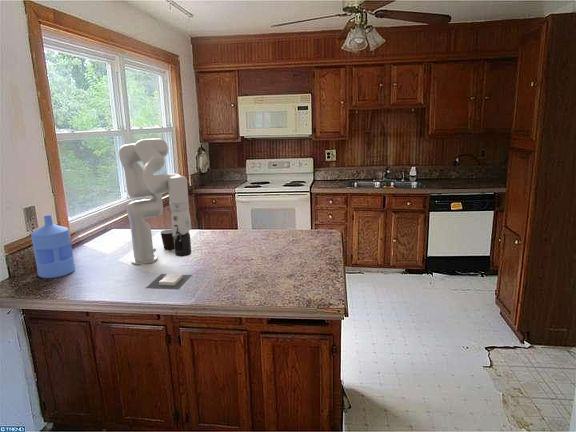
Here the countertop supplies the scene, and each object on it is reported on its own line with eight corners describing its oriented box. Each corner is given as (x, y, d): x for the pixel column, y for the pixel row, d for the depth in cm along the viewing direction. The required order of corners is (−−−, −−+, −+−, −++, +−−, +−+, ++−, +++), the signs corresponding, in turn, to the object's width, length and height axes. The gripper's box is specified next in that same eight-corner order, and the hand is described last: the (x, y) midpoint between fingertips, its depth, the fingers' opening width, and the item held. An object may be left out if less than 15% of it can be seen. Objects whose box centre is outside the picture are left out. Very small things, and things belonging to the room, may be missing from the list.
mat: (161, 275, 185) (161, 273, 184) (192, 276, 183) (192, 274, 183) (145, 289, 169) (145, 288, 169) (178, 290, 167) (178, 289, 167)
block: (167, 273, 180) (182, 274, 179) (168, 277, 180) (182, 277, 180) (159, 281, 171) (174, 282, 171) (159, 285, 172) (174, 285, 171)
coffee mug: (173, 251, 218) (172, 233, 216) (159, 250, 220) (157, 233, 217) (182, 244, 230) (181, 228, 227) (168, 244, 231) (167, 227, 229)
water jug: (35, 272, 191) (25, 216, 185) (71, 264, 201) (62, 210, 194) (41, 281, 180) (30, 222, 173) (78, 272, 189) (70, 216, 183)
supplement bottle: (194, 254, 168) (192, 226, 165) (181, 258, 163) (178, 230, 160) (185, 250, 172) (183, 224, 169) (171, 254, 167) (169, 227, 164)
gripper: (180, 211, 154) (183, 254, 158) (195, 201, 171) (198, 241, 175) (161, 211, 155) (165, 254, 159) (178, 201, 171) (181, 240, 176)
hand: (182, 247), depth 167 cm, fingers closed on supplement bottle, 6 cm apart
